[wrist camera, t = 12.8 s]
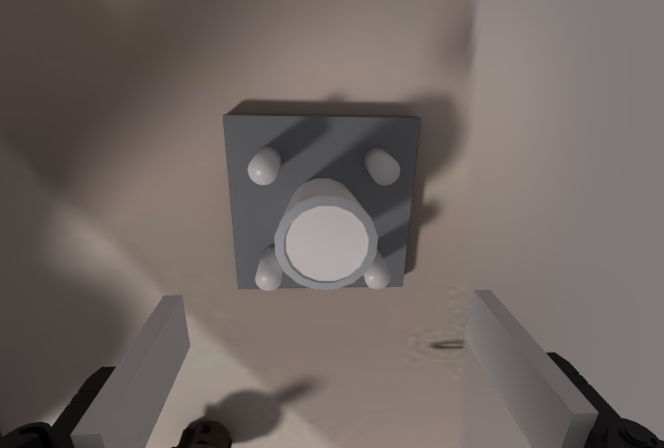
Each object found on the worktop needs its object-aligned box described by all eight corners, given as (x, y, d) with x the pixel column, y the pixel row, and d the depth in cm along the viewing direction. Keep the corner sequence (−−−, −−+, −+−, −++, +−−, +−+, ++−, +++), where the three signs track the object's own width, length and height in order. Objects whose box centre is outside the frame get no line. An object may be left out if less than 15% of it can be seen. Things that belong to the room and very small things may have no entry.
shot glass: (372, 179, 29) (391, 207, 23) (352, 253, 32) (363, 298, 25) (289, 162, 28) (283, 186, 22) (274, 240, 31) (265, 282, 24)
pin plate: (241, 280, 34) (228, 315, 28) (227, 113, 28) (208, 120, 23) (398, 278, 34) (414, 312, 29) (415, 116, 29) (437, 123, 24)
